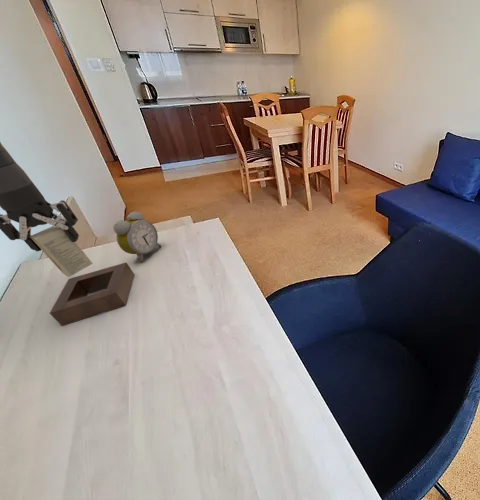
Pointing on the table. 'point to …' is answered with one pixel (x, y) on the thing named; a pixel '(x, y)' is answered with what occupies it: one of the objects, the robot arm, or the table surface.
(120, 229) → the alarm clock
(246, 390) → the table surface
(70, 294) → the socket block
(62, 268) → the cosmetic box
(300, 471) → the table surface
